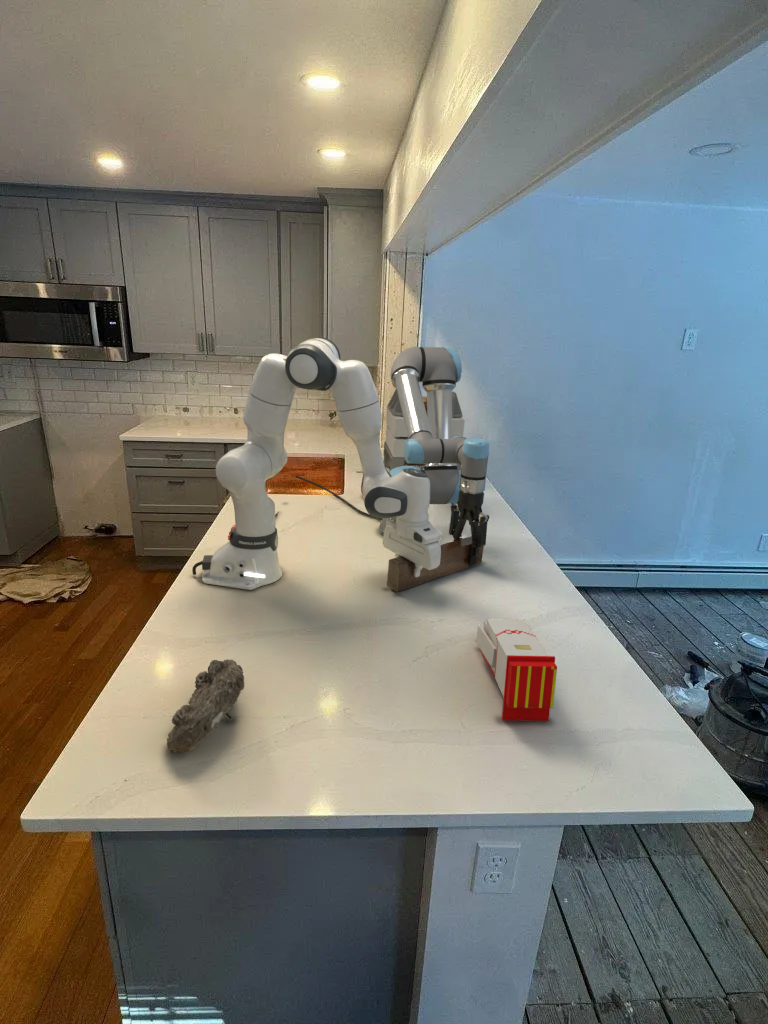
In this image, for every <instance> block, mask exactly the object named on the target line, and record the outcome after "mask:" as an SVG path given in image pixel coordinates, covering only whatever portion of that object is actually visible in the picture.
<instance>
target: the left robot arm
mask: <svg viewBox="0 0 768 1024" xmlns="http://www.w3.org/2000/svg"><path fill="white" fill-rule="evenodd" d="M340 352H341V351H340V349H339V348H338V346H337V345H336V343H335V342H334V341H332V340H330V339H329V338H327V337H324V336H315V337H312V338H309V339H306V340H304V341H303V340H302V342H300V343H299V344H298V345H296V346H294V347H293V348H292V349H291V350H290V351H289V352H288V354H287V355H284V354H281V353H268V354H266V355H264V356H263V357H261V360H260V361H259V364H258V365H257V367H256V370H255V372H254V375H253V377H252V380H251V384H250V388H249V391H248V396H247V400H246V404H245V408H244V412H243V416H242V421H243V423H244V425H245V426H246V429H247V430H246V431H247V436H246V437H247V438H246V441H245V442H244V444H243V445H241V446H238V447H236V448H233V449H231V450H229V451H227V453H225V454H224V455H223V456H221V458H220V459H219V460H218V461H217V463H216V465H215V475H216V478H217V481H218V483H219V484H220V485H221V487H223V488H224V489H225V490H227V491H228V494H229V495H230V497H231V501H232V504H233V509H234V524H233V525H232V527H231V528H230V530H229V532H228V535H227V542H226V543H225V544H223V545H222V546H221V547H219V548H218V549H217V550H216V551H215V552H214V553H213V554H212V555H211V554H209V555H208V554H206V555H203V558H202V560H201V561H198V562H196V563H195V564H194V565H193V566H192V567H191V569H192V571H191V572H192V576H197V568H198V567H200V566H201V568H202V569H201V570H202V571H203V572H202V574H201V581H202V582H203V583H204V584H208V585H212V586H213V585H214V586H221V587H227V588H233V589H241V590H247V591H248V590H249V591H252V590H255V589H257V588H260V587H262V586H266V585H270V584H273V583H275V582H277V581H279V580H280V579H281V578H282V576H283V571H282V567H281V565H280V560H279V554H278V547H279V535H278V529H277V527H276V518H275V515H276V504H275V501H274V500H273V498H271V497H269V495H268V491H267V488H266V481H267V480H270V479H271V478H274V477H275V476H277V475H278V474H279V473H280V472H281V471H282V470H283V468H284V467H285V466H286V465H287V463H288V452H287V449H286V447H285V432H286V427H287V423H288V418H289V414H290V411H291V408H292V405H293V401H294V397H295V393H296V390H297V389H298V388H299V389H303V390H308V391H309V390H311V391H323V392H326V391H328V390H329V392H330V393H331V395H332V398H333V400H334V404H335V408H336V412H337V416H338V419H339V422H340V424H341V427H342V428H343V429H342V430H343V431H344V432H345V435H346V437H348V438H349V439H351V440H352V442H353V443H354V445H355V447H356V450H357V453H358V457H359V461H360V465H361V469H362V478H361V484H360V492H361V494H362V498H363V499H362V500H363V504H364V508H365V510H366V513H367V514H370V515H371V516H373V517H375V518H380V519H383V518H390V519H388V520H387V521H386V527H385V530H384V536H383V535H382V545H383V548H385V549H387V550H388V551H390V552H392V553H394V554H395V558H397V557H400V556H402V557H404V558H406V559H408V560H410V561H412V562H414V563H415V566H416V569H415V570H412V575H413V576H415V577H419V576H420V571H421V569H422V568H423V567H424V568H426V569H428V570H432V569H435V568H437V567H438V566H439V565H440V558H441V546H440V545H441V543H440V541H441V540H442V533H441V531H439V530H438V529H437V528H436V527H435V526H434V525H433V524H432V523H431V522H430V521H429V520H430V519H429V511H428V510H429V506H430V505H431V504H430V480H429V478H428V476H427V475H426V474H425V473H424V472H422V471H423V470H421V471H420V470H416V469H411V468H408V469H403V470H402V471H401V472H399V473H398V474H396V475H394V476H391V475H390V473H389V470H388V469H387V468H386V466H385V465H384V457H383V454H382V450H381V446H380V433H381V430H382V427H383V416H382V415H383V414H382V406H381V402H380V398H379V394H378V391H377V387H376V385H375V384H376V383H375V382H374V379H373V376H372V374H371V372H370V369H369V368H368V366H367V364H365V362H363V361H361V360H358V359H348V360H342V359H341V353H340ZM392 517H396V520H395V519H394V518H392ZM375 518H374V519H375Z"/></svg>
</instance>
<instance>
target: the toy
mask: <svg viewBox="0 0 768 1024" xmlns="http://www.w3.org/2000/svg"><path fill="white" fill-rule="evenodd" d="M476 629H477V631H476V638H475V642H476V645H477V646H478V648H479V650H480V652H481V654H482V656H483V658H484V660H485V661H486V664H487V666H488V668H489V669H490V671H491V672H492V675H493V676H494V679H495V681H496V685H497V686H498V688H499V690H500V692H501V695H502V697H503V701H502V712H501V720H502V721H521V722H523V721H526V722H528V721H529V722H550V712H551V709H554V702H555V692H556V681H557V673H558V665H557V664H556V656H555V655H550V654H549V652H548V651H547V650H546V648H545V647H544V645H543V644H542V642H541V641H540V639H539V638H538V637H537V635H536V634H535V632H534V631H533V629H532V627H531V625H530V624H528V623H527V621H526V619H521V618H518V619H515V618H513V619H512V618H486V620H484V621H483V626H482V625H481V624H477V628H476Z"/></svg>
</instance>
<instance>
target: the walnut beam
mask: <svg viewBox="0 0 768 1024" xmlns="http://www.w3.org/2000/svg"><path fill="white" fill-rule="evenodd" d="M462 538H463V539H460V540H456V541H454V540H453V541H450V542H446V543H442V544H440V546H441V558H440V565H439V566H438V567H437V568H435V569H432V570H428V569H426V568H424V567H423V568H422V569H421V571H420V576H419V577H415V576H413V575H412V570H415V569H416V566H415V563H414V562H412V561H410V560H408V559H406V558H404V557H402V556H400V557H397V558H396V557H393V558H390V559H388V566H387V567H388V568H387V581H386V586H387V587H389V588H390V589H392V590H394V591H395V592H400V591H403V590H406V589H411V588H413V587H416V586H418V585H422V584H424V583H428V582H430V581H433V580H436V579H439V578H443V577H444V576H445V577H446V576H448V575H451V574H453V573H456V572H460V571H462V570H467V569H468V568H471V567H475V566H477V565H481V564H482V563H483V555H484V549H485V545H484V546H482V547H480V548H479V555H478V556H477V560H476V564H475V565H472V566H468V564H469V555H470V546H472V545H473V543H472V535H470V536H466V537H462Z"/></svg>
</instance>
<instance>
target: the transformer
mask: <svg viewBox="0 0 768 1024" xmlns="http://www.w3.org/2000/svg"><path fill="white" fill-rule="evenodd" d="M422 398H423V402H424V405H425V409H426V413H427V396H422ZM385 414H386V415H385V423H386V428H385V438H384V442H383V462H384V465H385V467H388V468H389V471H390V470H392V469H394V468H397V467H401V466H416V467H424V465H425V464H411V463H407V462H406V461H405V458H404V443H405V441H406V440H407V439H408V435H407V431H406V427H405V422H404V418H403V414H402V410H401V406H400V401H399V397H398V393H397V389H396V388H395V390H394V392H393V394H392V395H391V398H390V400H389V402H388V404H387V405H386V413H385ZM464 429H465V419H464V418H463V411H462V408H461V405H460V402H459V398H458V395H457V392H455V391H453V390H452V438H453V437H455V436H462V437H464V431H465V430H464ZM456 464H457V470H459V471H461V465H460V464H459V463H456Z"/></svg>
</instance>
